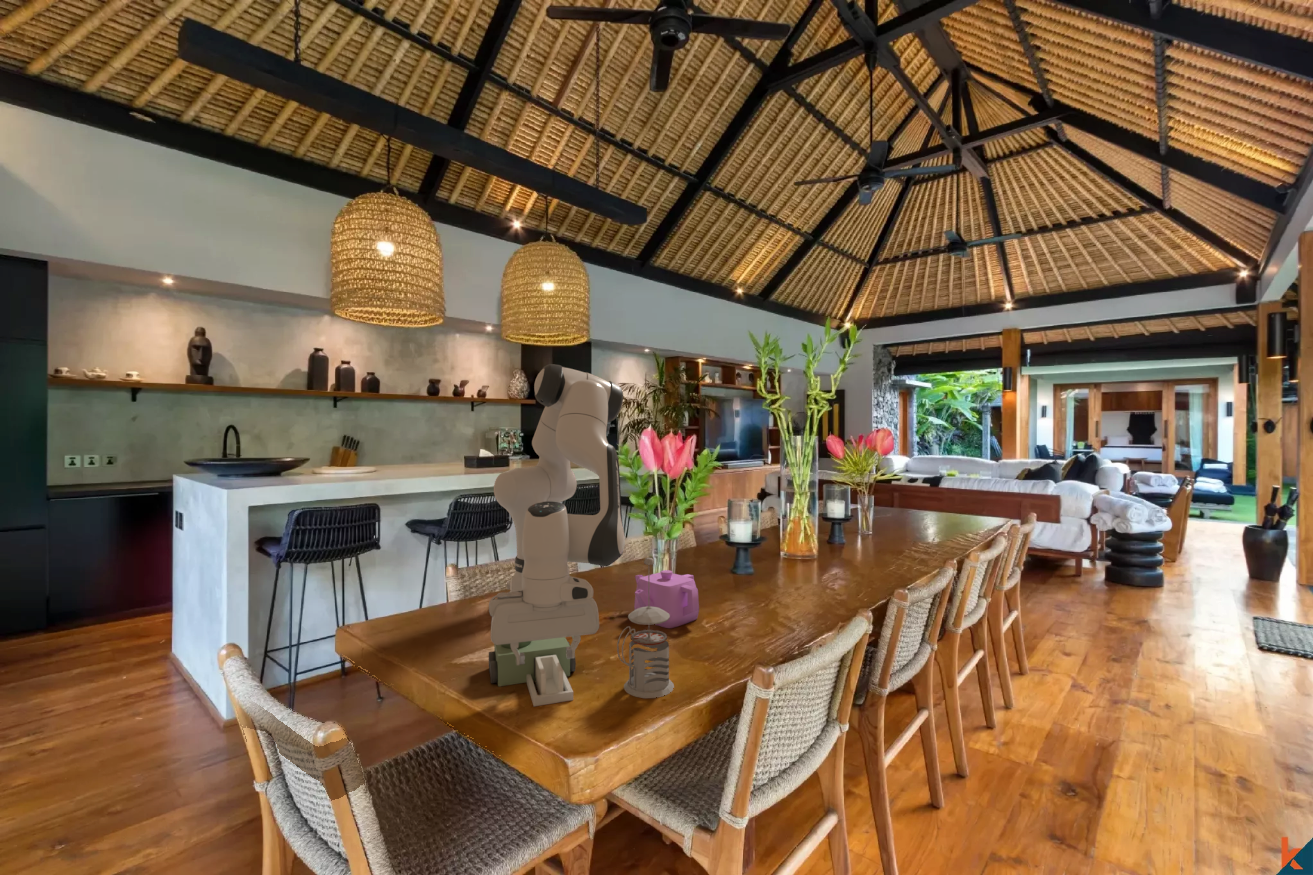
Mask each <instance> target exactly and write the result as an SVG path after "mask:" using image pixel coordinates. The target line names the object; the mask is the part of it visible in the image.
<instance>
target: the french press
mask: <svg viewBox="0 0 1313 875" xmlns="http://www.w3.org/2000/svg"><path fill="white" fill-rule="evenodd" d="M643 564H644V565H648V566H647V567H648V571H647V572H648V574H647V576H648V606H647V607H641V608H638V609H634V610H632V611H631V612H630V613H628V616H627V618H628V619H629V621H630V622H631V623H634V624H637V625H648V626H647V627H648V628H647V630H646V629H643V630H638V631H636V629H635V628H632V627H631V626H630V625H628V626H626V627H624V629H623V630H622V631H621V633H620V634H619V637H618V640H617V643H616V652H617V656H618V659H619V661H620V662H621V663H623V664H625V665H626V666H627V667H629V668H628V670H629V671H628V673H629V674H628V675H629V676H628V680H626V682H625V683H624V684H623V690H624V691H625V692H626V693H627V694H629V695H630V696H633V697H636V698H642V699H657V698H660V697H664V695H665V696H667V695H669V694H671V693H672V692H673V691H674V689H675V685H674V682H672V680H671V679H670V666H669V665H670V660H669V659H670V643H669V642H668V641H667V640H668V634H666V633H665V632H663V631H660V630H656V629H655V630H653V629H650V626H651V625H654V624H660V623H663V622H666V621H667V620H668V619H669V618H670V615H669V613H667V612H666V611H664V610H662V609H660V608H658V607H651V606H649V575H650V565H654V564H655V560H654V559H653V558H652V557H645V559H644V560H643ZM628 628H629V631H628V632H627V633H626V635H625V637H624V639H623V641H622V645H621V655H620V652H619V651H620V650H619V644H620V640H621V637H622V635H623V633H624V632H625V631H626V630H627V629H628ZM632 631H633V632H632ZM629 634H630V640H631V641H630V642H629V643H628V644H629V645H628V646H629V648H628V650H629V651H628V658H629V659H628V661H629V662H626V660H625V656H624V645H625V643H626V642H625V641H626V639H627V637H628V636H629ZM635 645H640V646H642V647H644V648H641V647H633V646H635ZM632 647H633V648H632ZM645 648H650V649H656V650H653V651H652V650H648V649H645ZM632 654H633V655H632ZM621 656H622V659H621ZM645 661H649V662H645ZM647 667H649V668H647ZM673 688H674V689H673ZM670 692H671V693H670ZM656 697H657V698H656Z"/></svg>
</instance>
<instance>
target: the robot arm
mask: <svg viewBox="0 0 1313 875" xmlns="http://www.w3.org/2000/svg"><path fill="white" fill-rule="evenodd" d="M533 386H534V387H533V388H534V397H535V400H536V401H537V402H538V403H539V404H541V405H543V406H544V408H543V411H542V413H541V415H540V418H539V421H538V424H537V426H536V430H535V431H534V435H533V437H532V440H531V446H532V448H533V450H534V452H535V453H536V455H538V457H539V458H538V462H537V464H536V465H534V466H527V467H526V466H525V467H515V468H512V469H509V470H506V471H504V472H501V473H499V474H498V475H497V477H496V479H495V481H494V485H493V494H494V498H495V499H496V502H497V503H498V504H499V505H500V506H501V507H503V508H504V509H505V510H506V511H507V512H508V513H509V516H510V517H511V519H512V522H513V525H514V528H515V539H516V556H515V557H514V558H515V559H514V570H515V572H514V574H513V576H512V577H511V579H510V580H507V581H506V589H507V590H510V591H507V592H498V593H497V594H496V595H494V596H492V597H491V598H490V600H489V602H488V612H489V616H490V617H491V622H490V640H491V643H493V645H494V644H495V645H501V644H510V647H511V650H512V651H513V653H514V654H515V656H516V665H523V664H525V661H524V660H525V655H524V652H522V653H519V651H518V650H517V648H518V646H519V642H527V641H536V640H545V639H553V638H562V637H565V638H569V637H571V638H572V641H571V643H570V647H566V658H567V659H571V658H575V659H576V653H575V652H576V650H577V648H578V646H579V643H580V642H581V640H582V639H581V637H582V636H585V635H595V634H596V633H597V632H598V630H599V629H600V618H599V617H600V616H599V615H600V614H599V608H598V605H597V602H596V601H595V599H594V588H593V586H592V585H591V584H590V582H588V580H586V579H585V578H580V577H576V576H573V575H570V568H569V564H568V563H578V564H579V563H581V564H589V565H593V566H594V565H595V566H601V567H610V566H611V565H612V564H613V563H615V562H617V561H618V559H620V558H621V557H622V555H623V554H624V549H625V545H626V541H625V540H626V538H625V530H624V527H623V515H622V514H623V512H622V496H621V495H622V493H621V477H620V476H621V475H620V474H621V473H620V464H619V457H618V454H617V451H616V448H615V446H613V445H612V444H610V443H609V441H608V438H607V428H608V423H611V422H612V421H614V420H615V419H616V418H618V416H619V414H620V413H621V410H622V408H623V403H624V393H623V392H624V391H623V389H622V387H621V386H620V385H618V384H616V383H615V382H613V381H611V380H609V381H607V380H606V379H604V378H602V377H600V376H597V375H595V374H592V373H589V372H587V371H586V372H584V371H581V370H577V369H573V368H570V367H565V366H562V365H560V364H553V363H549V364H547V365H545V366H543V367H542V369H541V370H540V371H539V373H538V374H537V376H536V378H535V381H534V385H533ZM571 463H572V464H574V465H576V466H578V467H581V468H583V469H585V470H588V471H590V472H592V473H594V474H596V475H597V476H598V479H599V480H598V481H599V502H600V504H599V505H600V506H599V507H600V509H599V512H598V513H596V514H593V515H592V514H573V513H568V511H567V507H566V505H565V504H564V503H562V502H564V501H566V500H568V499H570V498H572V497H573V496H574V495H575V493H576V492H577V491H576V490H577V488H578V487H577V486H578V484H577V483H578V481H577V478H576V475H575V473H574V471H573V470H572V467H571Z"/></svg>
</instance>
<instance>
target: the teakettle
mask: <svg viewBox="0 0 1313 875" xmlns="http://www.w3.org/2000/svg"><path fill="white" fill-rule="evenodd" d="M634 578H635V582H636V590H635V592H634V595H635V597H634V607H633V608H634V610H635V609H638V608H641V607H647V606H648V575H644V576H643V574H637V575H635V576H634ZM699 604H700V602H699V590H698V588H697V584H696V582H695V576H694V575H693V574H688V573H687V574H677V573H673V571H672V570H669V569H664V570H661V571H660V572H655V573H652V574H649V606H651V607H658V608H660V609H662V610H664V611H666V612H667V613H669V615H670V618H669V619H668V620H667V621H666V622H663V623H660V624H655V626H658V627H662V628H665V629H673V628H677V627H680V626H683V625H686V624H688V623H689V624H690V623H691V622H693V621H695V620H697V619H698V617H699V612H700V605H699Z"/></svg>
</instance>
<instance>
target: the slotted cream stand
mask: <svg viewBox="0 0 1313 875" xmlns="http://www.w3.org/2000/svg"><path fill="white" fill-rule="evenodd" d="M535 686H536V689H537V691H538V692H537V693H538V695H544V694H550V693H556V692H563V691H564V688H563V669H562V667H561V665H560V663H559V660H558V658H557V656H556V655H550V656H542V657H536V681H535Z"/></svg>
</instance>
